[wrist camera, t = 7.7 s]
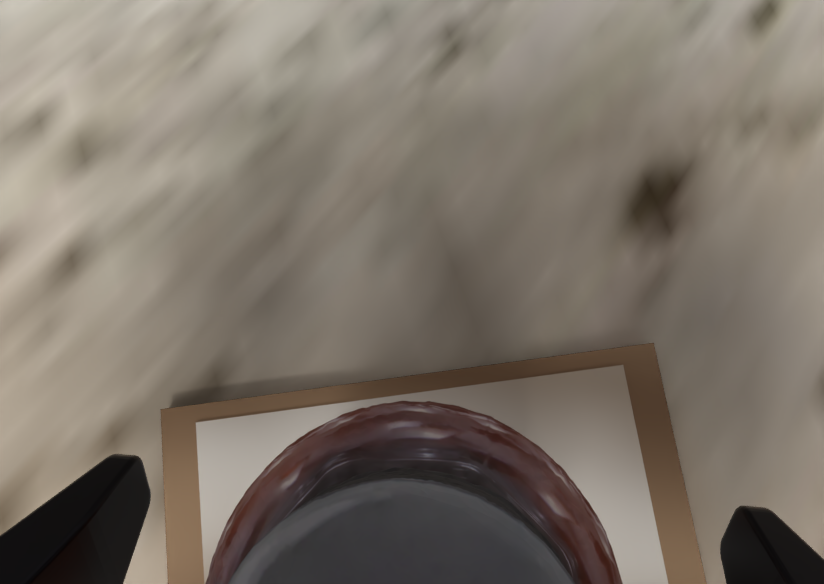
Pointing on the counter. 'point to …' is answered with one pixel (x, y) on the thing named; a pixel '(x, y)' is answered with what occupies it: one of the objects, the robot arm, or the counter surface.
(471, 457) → the supplement bottle
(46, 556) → the robot arm
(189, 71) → the counter surface
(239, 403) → the clipboard
